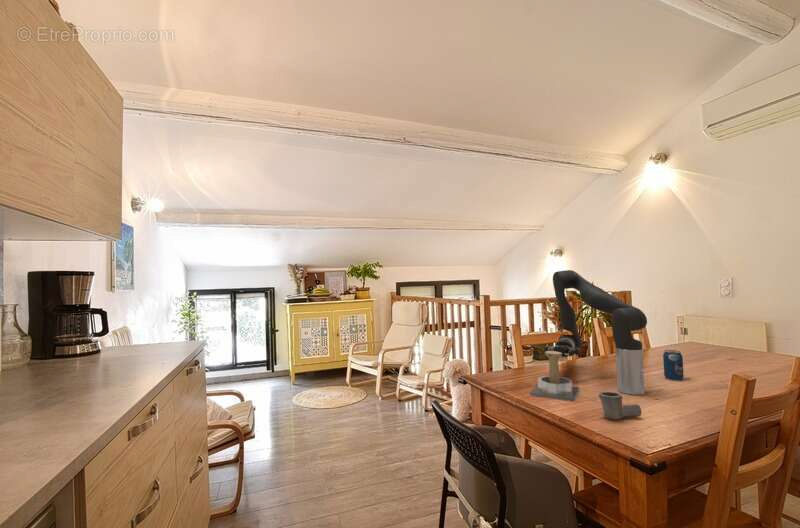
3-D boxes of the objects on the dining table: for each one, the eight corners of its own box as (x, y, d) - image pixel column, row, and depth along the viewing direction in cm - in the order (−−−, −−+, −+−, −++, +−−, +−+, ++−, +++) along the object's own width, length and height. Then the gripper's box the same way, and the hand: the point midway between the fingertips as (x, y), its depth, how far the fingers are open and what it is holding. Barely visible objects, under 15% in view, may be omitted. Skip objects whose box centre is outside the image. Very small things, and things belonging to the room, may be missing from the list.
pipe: (644, 420, 121) (643, 395, 121) (604, 422, 121) (603, 396, 121) (633, 413, 127) (632, 390, 127) (595, 415, 127) (594, 391, 127)
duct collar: (579, 389, 154) (578, 377, 154) (574, 401, 141) (573, 387, 141) (538, 384, 163) (538, 373, 163) (530, 395, 149) (529, 382, 149)
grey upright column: (550, 386, 156) (549, 350, 156) (565, 390, 151) (563, 352, 151) (544, 389, 153) (542, 352, 153) (559, 392, 148) (557, 354, 148)
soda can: (681, 381, 160) (679, 353, 161) (662, 378, 166) (660, 351, 166) (685, 378, 165) (684, 351, 165) (667, 375, 170) (665, 349, 170)
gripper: (548, 338, 180) (541, 343, 166) (581, 339, 172) (576, 345, 159) (549, 354, 179) (542, 360, 166) (582, 356, 172) (577, 363, 158)
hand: (559, 353), depth 162 cm, fingers open, 8 cm apart
